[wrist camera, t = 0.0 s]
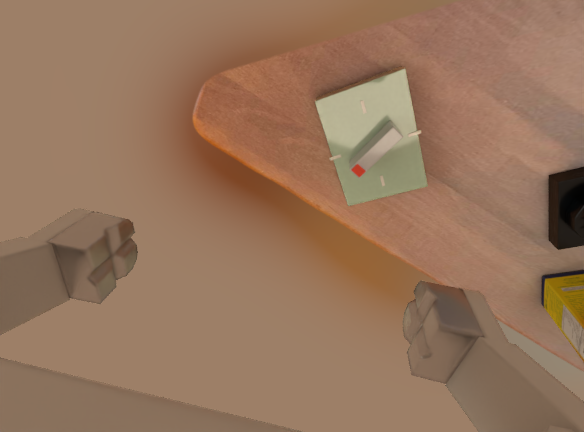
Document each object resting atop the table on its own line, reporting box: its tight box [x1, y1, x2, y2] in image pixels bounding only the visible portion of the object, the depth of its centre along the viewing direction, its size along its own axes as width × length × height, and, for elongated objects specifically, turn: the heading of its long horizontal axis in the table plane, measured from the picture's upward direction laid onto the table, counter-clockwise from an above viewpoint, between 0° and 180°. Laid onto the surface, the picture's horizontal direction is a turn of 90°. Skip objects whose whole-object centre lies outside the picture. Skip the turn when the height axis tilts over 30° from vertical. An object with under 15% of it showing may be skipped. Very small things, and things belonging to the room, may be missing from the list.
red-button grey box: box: [349, 121, 403, 178], centre depth 35 cm, size 6×2×3 cm, turn 141°
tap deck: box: [315, 66, 428, 206], centre depth 38 cm, size 14×11×3 cm
